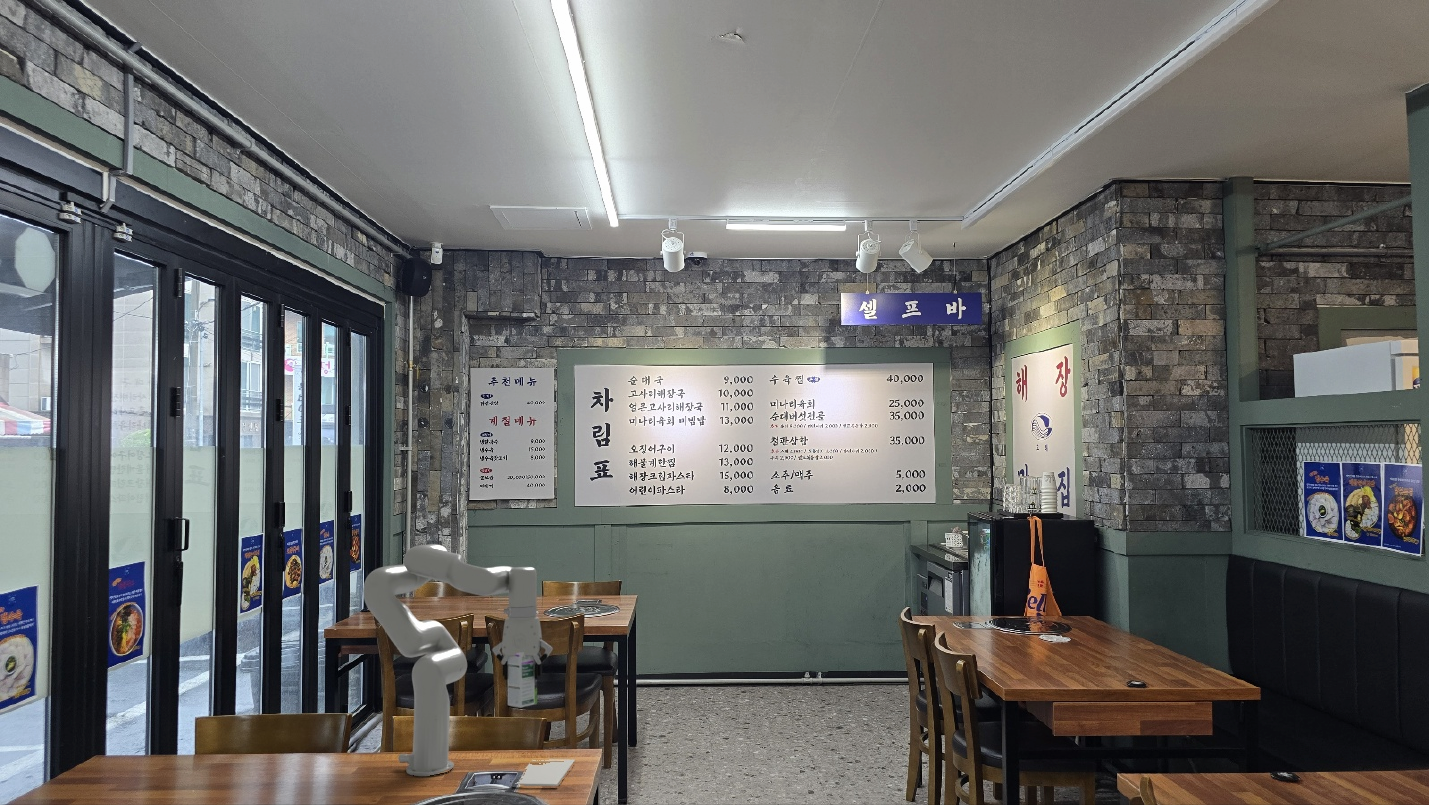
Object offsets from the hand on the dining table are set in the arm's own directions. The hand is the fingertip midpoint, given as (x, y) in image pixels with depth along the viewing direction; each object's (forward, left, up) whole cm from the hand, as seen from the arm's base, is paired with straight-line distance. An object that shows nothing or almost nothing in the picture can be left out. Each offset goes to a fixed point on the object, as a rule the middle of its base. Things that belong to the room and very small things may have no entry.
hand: (522, 678), depth 241 cm
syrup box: (0, 0, -7) cm, 7 cm away
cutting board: (+6, +3, -26) cm, 27 cm away
